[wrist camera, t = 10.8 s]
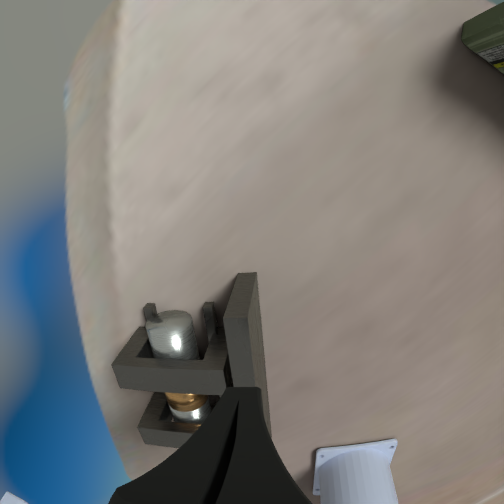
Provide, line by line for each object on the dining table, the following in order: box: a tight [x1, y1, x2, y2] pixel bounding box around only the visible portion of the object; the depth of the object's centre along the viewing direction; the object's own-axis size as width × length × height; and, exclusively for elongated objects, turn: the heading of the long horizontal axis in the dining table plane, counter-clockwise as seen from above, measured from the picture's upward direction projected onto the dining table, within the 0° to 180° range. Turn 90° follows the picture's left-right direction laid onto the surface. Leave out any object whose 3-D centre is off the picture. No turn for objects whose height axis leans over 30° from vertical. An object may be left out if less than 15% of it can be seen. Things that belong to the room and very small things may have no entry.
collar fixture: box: [111, 272, 272, 448], centre depth 22 cm, size 26×9×7 cm, turn 5°
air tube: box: [145, 310, 212, 424], centre depth 23 cm, size 12×3×3 cm
